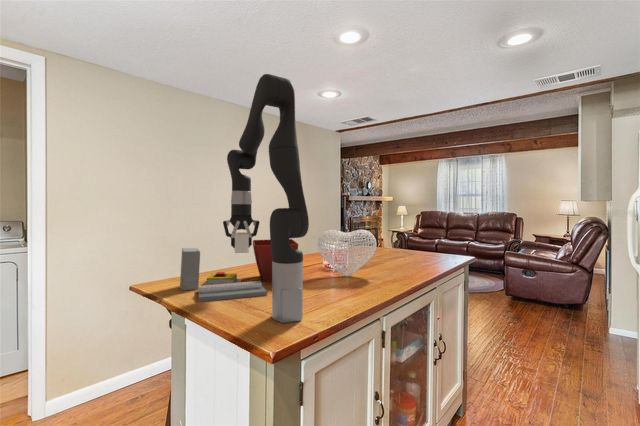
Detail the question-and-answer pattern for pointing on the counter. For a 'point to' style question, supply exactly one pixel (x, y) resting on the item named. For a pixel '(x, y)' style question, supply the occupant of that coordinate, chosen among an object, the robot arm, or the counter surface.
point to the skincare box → (190, 269)
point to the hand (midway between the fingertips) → (241, 247)
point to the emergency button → (222, 278)
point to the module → (241, 242)
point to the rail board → (231, 294)
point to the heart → (368, 256)
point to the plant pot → (266, 257)
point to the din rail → (230, 287)
